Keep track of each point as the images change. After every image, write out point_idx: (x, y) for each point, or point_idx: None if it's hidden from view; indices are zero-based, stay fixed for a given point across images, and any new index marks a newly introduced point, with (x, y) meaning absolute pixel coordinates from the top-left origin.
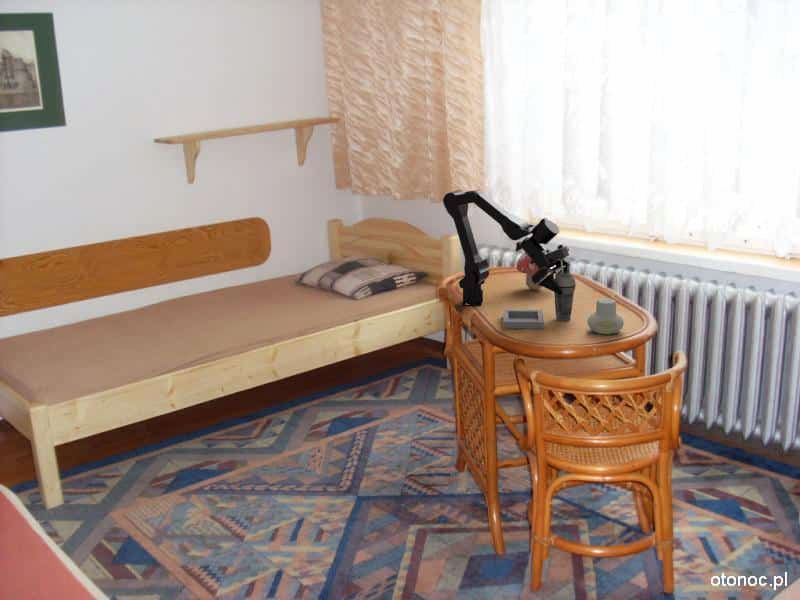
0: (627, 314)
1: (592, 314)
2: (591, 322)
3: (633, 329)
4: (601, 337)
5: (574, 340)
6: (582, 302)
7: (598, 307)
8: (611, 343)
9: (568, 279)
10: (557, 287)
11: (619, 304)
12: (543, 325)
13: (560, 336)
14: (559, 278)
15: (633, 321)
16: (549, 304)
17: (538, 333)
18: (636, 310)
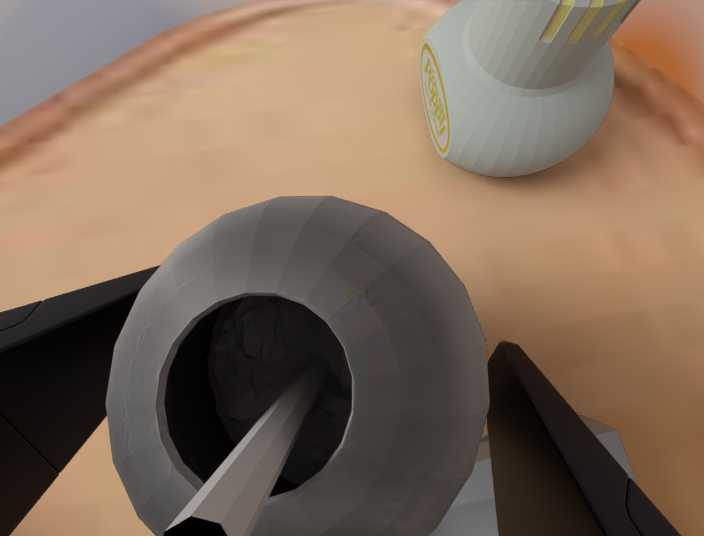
0: (215, 72)
1: (536, 120)
2: (593, 131)
3: (415, 22)
4: None
5: (681, 226)
6: (56, 287)
7: (620, 22)
8: (642, 70)
9: (440, 267)
10: (583, 429)
11: (75, 122)
12: (601, 425)
13: (651, 304)
14: (460, 471)
15: (307, 38)
16: (106, 462)
17: (657, 435)
18: (153, 49)
